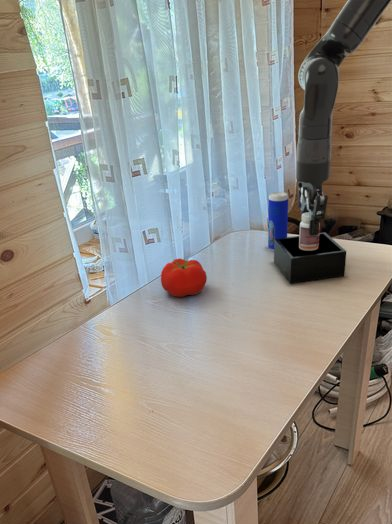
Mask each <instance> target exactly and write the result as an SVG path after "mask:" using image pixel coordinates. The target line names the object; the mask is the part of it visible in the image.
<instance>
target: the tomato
mask: <svg viewBox="0 0 392 524" xmlns="http://www.w3.org/2000/svg"><path fill="white" fill-rule="evenodd" d="M207 278H208V277H207V272H206V271H205V270H204V268H203V265H202V264H201V263H200V261H199V260H196V259H190V260H189V258H188V259H183V258H174V259H173V260H171V262H167V263H166V264H165V265H164V267H163V268H162V270H161V273H160V284H161V287H162V288H163V290H164V291H166V292H167V293H168V294H170V295H171V296H173V297H177V298H185V297H186V296H187V295H188V296H193V295H198V294H199V293H200V292H201V291H202V290H204V288H205V286H206V284H207Z"/></svg>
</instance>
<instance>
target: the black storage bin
mask: <svg viewBox="0 0 392 524" xmlns="http://www.w3.org/2000/svg"><path fill="white" fill-rule="evenodd" d="M346 262H347V250H346V249H345V248H343V246H341V245H340V244H339V243H338V242H337V241H336V240H334V239H333V238H332V237H331V236H330V235H329V234H328V233H327V232H324V231H323V232H319V247H318V249H316V250H313V251H304V250H301V249H300V248H299V235H295V236H294V235H293V236H287V237H285V238H278V239H274V251H273V264H274V265H275V266H276V267H277V269H278V270H279V272H280V273H281V274H282V275H283V277H284V278H285V279H286V281H287V282H288V284H290V285H296V284H303V283H309V282H317V281H323V280H324V281H325V280H331V279H338V278H344V277H345V271H346Z"/></svg>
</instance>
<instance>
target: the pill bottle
mask: <svg viewBox="0 0 392 524" xmlns="http://www.w3.org/2000/svg"><path fill="white" fill-rule="evenodd" d="M301 221H302V222H301ZM301 221H300V223H299V232H298V233H299V235H298V236H299V248H300V249H301V250H304V251H313V250H316V249H318V247H319V234H318V235H312V236H311V235H310V234H309V221H310V218H309V212H306V213H303V214H302V213H301ZM320 227H321V222H319V233H321V231H320V230H321V229H320Z"/></svg>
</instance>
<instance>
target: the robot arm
mask: <svg viewBox="0 0 392 524" xmlns="http://www.w3.org/2000/svg"><path fill="white" fill-rule="evenodd" d="M391 3H392V0H347V1H346V3H345V4H344V5H343V7H342V8H341V10H340V12H339V13H338V14H337V16H336V18H334V21H333V22H332V23H331V25H330V27H329V28H328V30H327V31H326V33H325V34H324V35H323V36H322V37H321V38H320V39H319V40H318V42H317V43H316V44H315V45H314V47H313V48H312V49H311V50H310V51H309V53H308V54H307V55H306V57H305V58H304V60H303V61H302V63H301V65H300V67H299V70H298V77H297V78H298V83H299V86H300V87H301V88H302V89H303V90H304V95H303V97H304V98H303V108H302V110H301V111H300V113H299V121H298V138H297V140H298V141H297V145H296V163H295V164H296V167H295V179H296V180H297V181H298V182H297V185H296V186H297V187H296V188H297V206H298V208H299V209H300V213H301V215H302V214H303V213H306V212H309V218H310V221H309V234H310V235H311V236H312V235H318V234H319V233H320V232H319V223H320V221H321V220H324V219H325V216H326V210H327V207H328V206H327V205H328V200H329V197H328V194H324V189H323V183H324V182H326V181H328V180H329V179H330V174H331V163H332V162H331V161H332V130H333V113H334V108H335V105H336V101H337V96H338V91H339V84H340V70H339V67H340V66H341V65H342V63H343V62H344V61H345V59H346V58H348V57H349V56H351V55H352V54H354V53H355V52H356V51H357V50H358V49H359V47H360V46H361V45H362V43H363V42H364V41H365V40H366V38H367V37H368V36H369V34H370V32H371V31H372V30H373V28H374V27H375V25H376V24H377V22H378V21H379V19H380V18H381V16H382V15H383V13H385V11H386V9H387V8H388V6H389V5H390V4H391ZM301 222H302V220H301V221H300V223H301Z"/></svg>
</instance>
